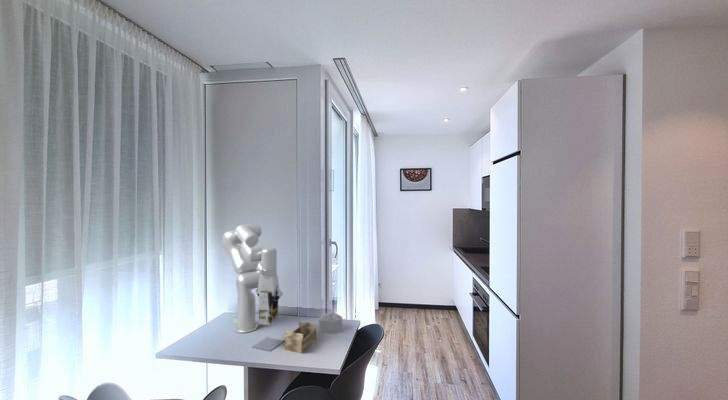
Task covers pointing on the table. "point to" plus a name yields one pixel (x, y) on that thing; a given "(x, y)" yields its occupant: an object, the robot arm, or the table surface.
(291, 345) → the carton
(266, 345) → the mat
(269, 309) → the coffee box
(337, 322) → the lumpy-topped squat cylinder
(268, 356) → the table surface
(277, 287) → the robot arm
